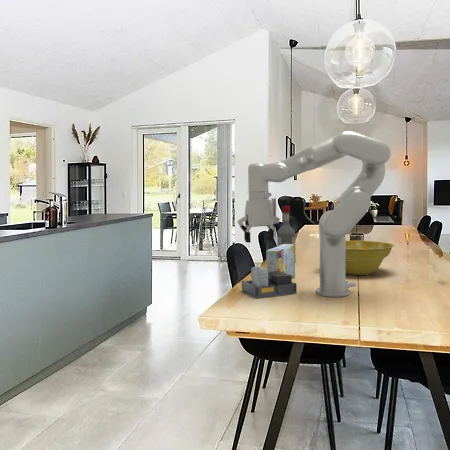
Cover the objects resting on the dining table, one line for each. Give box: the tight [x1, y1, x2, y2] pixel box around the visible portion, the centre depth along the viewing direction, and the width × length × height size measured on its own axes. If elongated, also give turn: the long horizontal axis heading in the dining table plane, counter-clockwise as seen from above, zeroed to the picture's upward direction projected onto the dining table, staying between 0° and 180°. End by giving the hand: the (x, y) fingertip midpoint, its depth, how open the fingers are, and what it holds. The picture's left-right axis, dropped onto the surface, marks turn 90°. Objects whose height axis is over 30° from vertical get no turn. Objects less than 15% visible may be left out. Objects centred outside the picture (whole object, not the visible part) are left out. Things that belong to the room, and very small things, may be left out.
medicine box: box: [250, 266, 268, 287], centre depth 180 cm, size 8×4×9 cm, turn 13°
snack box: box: [265, 244, 296, 279], centre depth 201 cm, size 21×6×15 cm, turn 152°
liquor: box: [276, 205, 296, 252], centre depth 243 cm, size 9×9×30 cm
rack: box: [241, 271, 298, 299], centre depth 181 cm, size 17×13×7 cm
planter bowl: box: [346, 240, 395, 276], centre depth 217 cm, size 32×32×13 cm
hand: (259, 241), depth 178 cm, fingers open, 9 cm apart
